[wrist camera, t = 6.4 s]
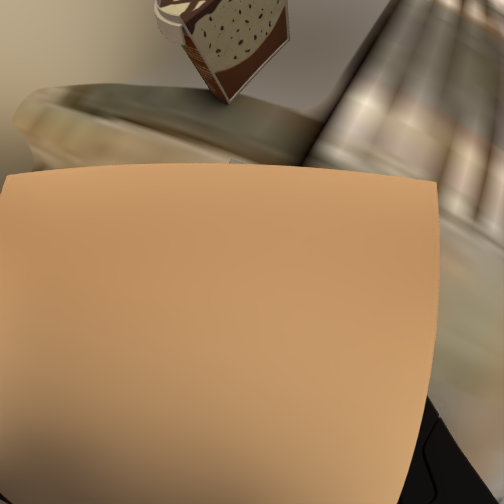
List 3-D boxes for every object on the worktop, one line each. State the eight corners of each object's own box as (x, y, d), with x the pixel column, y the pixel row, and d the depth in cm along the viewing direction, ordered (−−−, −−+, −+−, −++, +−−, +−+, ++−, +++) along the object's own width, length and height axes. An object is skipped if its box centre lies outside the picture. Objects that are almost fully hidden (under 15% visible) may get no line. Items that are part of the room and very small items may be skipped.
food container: (245, 19, 26) (222, -59, 16) (297, 32, 24) (286, -55, 15) (165, 96, 25) (112, 16, 15) (218, 118, 23) (172, 21, 14)
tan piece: (333, 423, 13) (376, 635, 1) (187, 399, 14) (-30, 486, 3) (353, 285, 14) (486, 131, 3) (205, 269, 15) (2, 139, 4)
